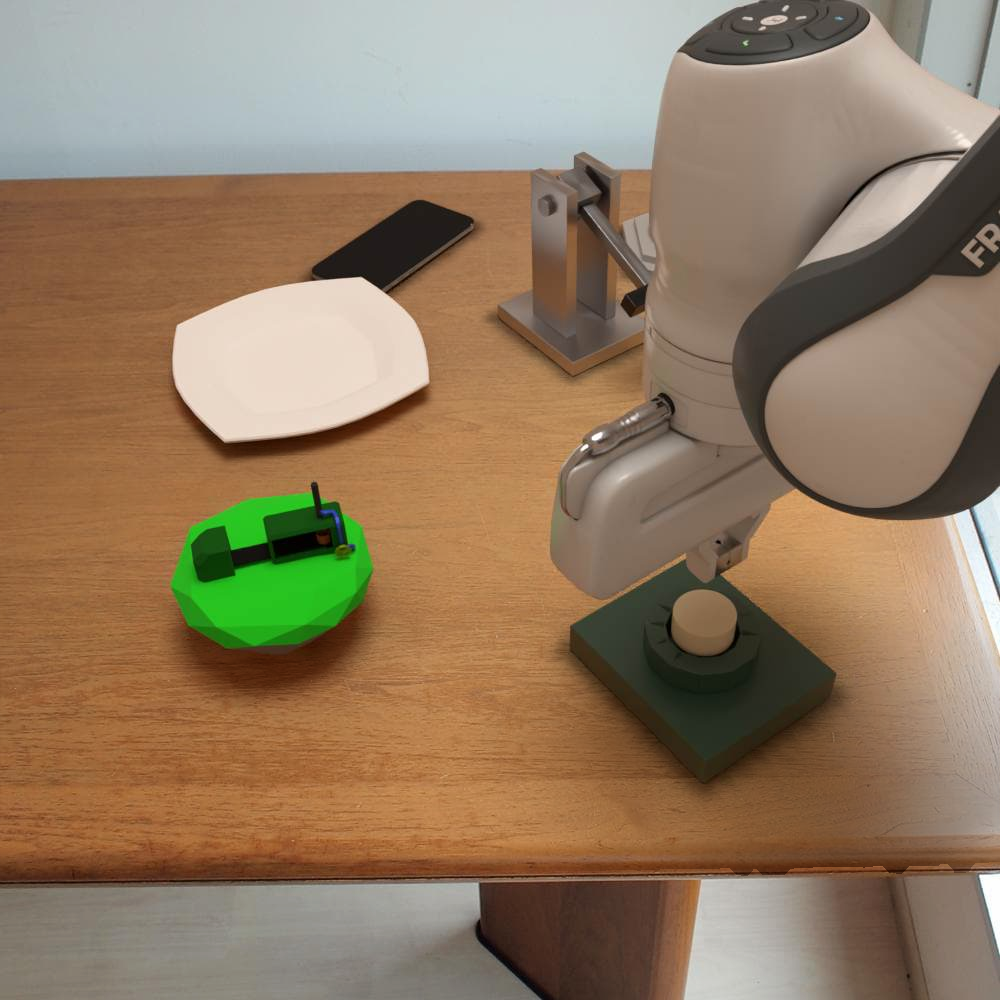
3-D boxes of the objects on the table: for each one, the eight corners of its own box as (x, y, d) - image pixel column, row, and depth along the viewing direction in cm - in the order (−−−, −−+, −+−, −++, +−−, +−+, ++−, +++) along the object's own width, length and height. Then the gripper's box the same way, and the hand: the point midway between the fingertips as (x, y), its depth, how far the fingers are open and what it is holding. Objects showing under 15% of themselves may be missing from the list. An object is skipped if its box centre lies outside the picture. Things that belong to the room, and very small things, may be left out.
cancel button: (747, 637, 70) (750, 617, 69) (700, 667, 68) (702, 647, 67) (704, 599, 72) (706, 579, 71) (658, 627, 70) (659, 607, 69)
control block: (831, 696, 71) (842, 652, 68) (703, 784, 67) (709, 741, 64) (692, 576, 78) (697, 532, 75) (569, 649, 74) (569, 605, 71)
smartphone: (479, 219, 110) (369, 297, 101) (479, 226, 110) (370, 304, 101) (416, 197, 113) (305, 270, 104) (417, 203, 113) (306, 277, 105)
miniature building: (358, 535, 82) (338, 408, 74) (395, 666, 74) (376, 538, 66) (178, 574, 80) (139, 447, 72) (195, 714, 72) (152, 587, 64)
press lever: (680, 298, 89) (691, 278, 87) (627, 323, 87) (637, 303, 85) (587, 181, 93) (595, 159, 90) (534, 202, 91) (541, 180, 88)
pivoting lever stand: (652, 338, 97) (662, 182, 87) (572, 376, 94) (574, 218, 84) (574, 283, 103) (576, 131, 93) (497, 317, 100) (491, 163, 90)
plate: (377, 279, 104) (375, 260, 103) (462, 408, 91) (460, 388, 90) (154, 338, 99) (149, 318, 98) (210, 483, 86) (205, 462, 85)
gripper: (606, 489, 51) (603, 695, 60) (937, 310, 59) (888, 517, 68) (517, 414, 54) (527, 619, 64) (839, 256, 63) (805, 458, 72)
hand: (716, 565), depth 66 cm, fingers closed
